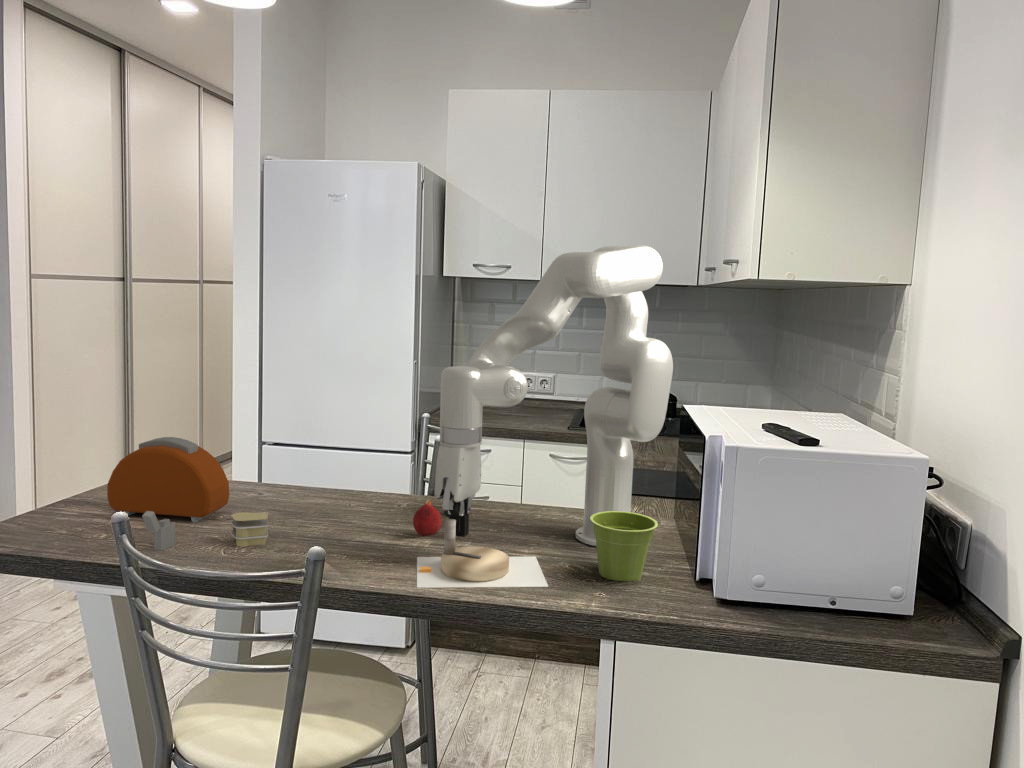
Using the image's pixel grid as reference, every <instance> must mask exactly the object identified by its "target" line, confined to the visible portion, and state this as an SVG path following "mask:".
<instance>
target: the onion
mask: <svg viewBox="0 0 1024 768" xmlns="http://www.w3.org/2000/svg"><path fill="white" fill-rule="evenodd" d="M432 503H433V502H432V501H431V500H429V499H427V500H426V501H425V503H424V504H423V505H422V506H420V507H419V508H418V509H417V510H416V511H415V513H414V515H413V519H412V525H413V528H414V531H415V533H417V534H418V535H419V536H420V537H423V538H424V537H426V536H433V535H436V534H437V533H438V532H439V531H440V529H441V528H442V524H443V518H442V515H441V512H440V510H438V509H437V507H435V506H434V505H432Z"/></svg>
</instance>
